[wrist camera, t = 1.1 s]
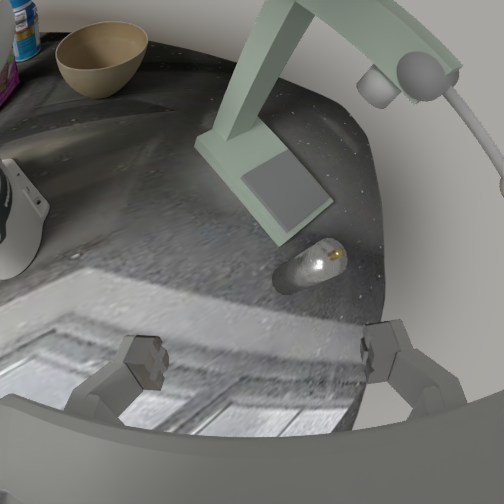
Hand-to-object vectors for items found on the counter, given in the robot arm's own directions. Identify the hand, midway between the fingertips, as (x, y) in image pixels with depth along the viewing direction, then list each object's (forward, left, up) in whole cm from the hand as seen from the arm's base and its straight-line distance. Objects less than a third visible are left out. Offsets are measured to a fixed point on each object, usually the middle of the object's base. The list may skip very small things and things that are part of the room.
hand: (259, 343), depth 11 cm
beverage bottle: (-80, +5, -34) cm, 87 cm away
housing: (+3, +20, -34) cm, 39 cm away
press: (-9, +30, -34) cm, 46 cm away
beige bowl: (-51, +16, -34) cm, 63 cm away
